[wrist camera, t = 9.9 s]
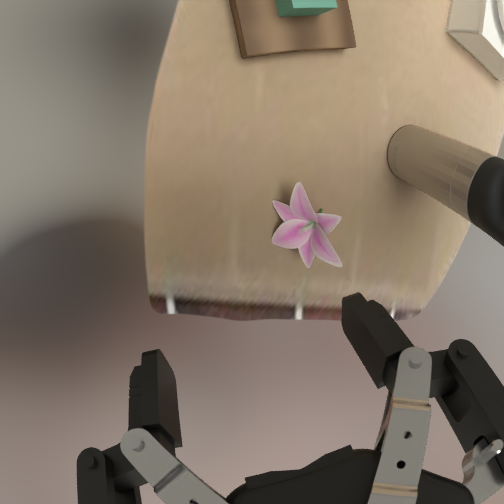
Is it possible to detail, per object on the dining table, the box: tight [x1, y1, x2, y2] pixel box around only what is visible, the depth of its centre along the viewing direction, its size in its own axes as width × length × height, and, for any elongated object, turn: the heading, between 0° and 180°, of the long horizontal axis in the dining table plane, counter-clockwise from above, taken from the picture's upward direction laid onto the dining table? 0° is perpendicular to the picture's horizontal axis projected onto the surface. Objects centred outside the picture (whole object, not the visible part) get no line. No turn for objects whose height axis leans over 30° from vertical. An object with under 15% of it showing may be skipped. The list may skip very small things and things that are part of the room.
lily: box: [271, 182, 343, 268], centre depth 42 cm, size 12×12×10 cm
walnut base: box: [229, 0, 356, 58], centre depth 28 cm, size 14×14×4 cm
